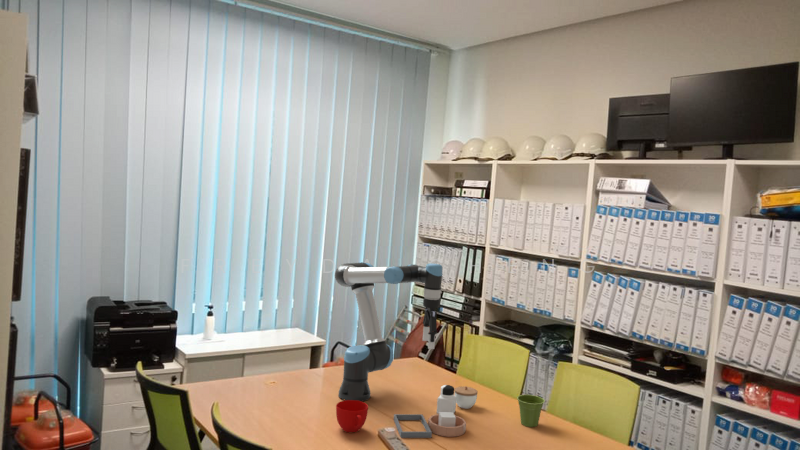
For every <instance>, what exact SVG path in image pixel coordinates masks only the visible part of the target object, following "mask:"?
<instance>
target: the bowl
mask: <svg viewBox="0 0 800 450" xmlns="http://www.w3.org/2000/svg"><path fill="white" fill-rule="evenodd" d="M455 417H456V422H455V427H445V426H440V425H438V421H439V414H438V413H436V414H433V415H431V416H429V418H428V419H427V424H428V426H429V428H430V430H431V432H432V434H435V435H437V436H441V437H449V438H452V437H453V438H454V437H460V436H463V435H464V434H465V432H466V429H467V422H466V420H465V419H464V418H463V417H460V416H458V415H455Z"/></svg>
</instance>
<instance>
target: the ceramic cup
mask: <svg viewBox="0 0 800 450" xmlns="http://www.w3.org/2000/svg"><path fill="white" fill-rule="evenodd" d="M335 410H336V411H335V413H336V420H337V423H338V425H339V427H340V428H341V430H342V431H343V430H344V431H343V432H345V431H346V432H345V433H348V432H355V433H357V431H358V432H359V431H360V430H361V429H362V428H363V427H364V425H365V422H366V420H367V417H368V413H369V411H368V410H369V405H368V404H367V403H366V402H365V401H356V400H341V401H339V402H337V403H336V405H335Z"/></svg>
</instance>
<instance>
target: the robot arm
mask: <svg viewBox="0 0 800 450" xmlns="http://www.w3.org/2000/svg"><path fill="white" fill-rule="evenodd" d="M334 278H335V281H336V282H337V284H339V285H340V286H342V287H346V288H348V287H350V289H351V292H352V293H354V294H355V298H356V303H357V307H358V308H357V309H358V313H359V318H360V322H361V328H362V332H363V337H364V338H363V339H364V342H363V344H362V345H360V344H359V345H352V346H349V347H348V348H346V349H345V351H344V356H343V374H342V375H343V376H342V383H341V385H340V387H339V390H338V398H339V397H340V398H339V399H341V398H342V399H341V400H343V399H345V400H356V401H361V402H365V400H366V401H368V400H370V399H369V398H371V389H370V385H369V381H368V379H369V378H368V377H369V373H374V372H377V371H383V370H385V369H388V368H389V367H391V366H392V364H393V362H394V351H393V349H392V347H391V346H390V344H387V341H386V339H385V338H383V336H382V332H381V327H380V326H381V325H380V322H379V317H378V312H377V307H376V302H375V297H374V292H373V290H374V288H375V284H392V285H395V284H396V285H397V284H404V283H405V284H407V283H421V284H424V288H423V297H424V298H423V302H422V306H423V307H425V310H424V315H423V319H422V320H423V321H422V324H423V330H422V342H428V343H427V349H428V350H435V345H436V344H435V343H436V335H437V334H438V332H437V331H438V329H437V328H438V327H437V325H438V324H437V314H438V312H437V311H436V309H438V308H440V306H441V296H442V295H441V294H442V293H443V291H442V280H443V265H442V264H440V263H439V264H438V263H434V262H433V263H429V262H428V263H427V264H426V266H423V265H418V264H410V263H409V264H407V265H404V266H402V265H398V266H395V265H393V266H373V265H372V264H371V263H369V262H352V263H351V262H350V263H348V262H347V263H343V264H341V265H339V266H338V267H337V268H336V270H335V272H334ZM345 400H344V401H345Z"/></svg>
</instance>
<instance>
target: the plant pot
mask: <svg viewBox="0 0 800 450" xmlns="http://www.w3.org/2000/svg"><path fill="white" fill-rule="evenodd" d="M516 399H517V400H518V401H517V403H518V406H519V415H520V416H519V417H520V424H521V425H523V426H525V427H528V428H533V427H535V428H536V427H538V426H539V421H540V417H541V412H542V408H543V405H544V403H545V401H546V400H545V399H544V398H543V397H541V396H537V395H533V394H521V395H518V396H517V397H516Z"/></svg>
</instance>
